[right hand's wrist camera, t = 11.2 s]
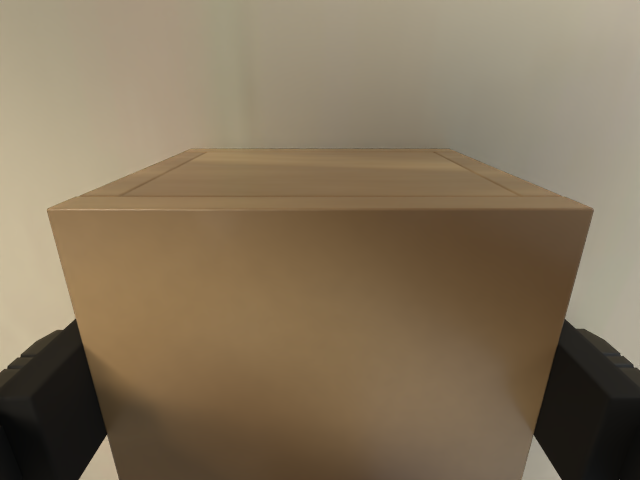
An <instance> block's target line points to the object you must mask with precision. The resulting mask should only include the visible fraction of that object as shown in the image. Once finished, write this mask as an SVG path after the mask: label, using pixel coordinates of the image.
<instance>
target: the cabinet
mask: <svg viewBox="0 0 640 480" xmlns="http://www.w3.org/2000/svg"><path fill="white" fill-rule="evenodd" d="M593 211H594V209H593V208H591V207H588V206H586V205H583V204H581V203H579V202H576V201H574V200H571V199H569V198H567V197H562V196H561V195H558V194H556V193H553V192H551V191H549V190H546V189H544V188H542V187H539V186H537V185H534V184H532V183H530V182H527V181H525V180H522V179H520V178H518V177H515V176H513V175H511V174H508V173H506V172H503V171H501V170H499V169H496V168H494V167H491V166H489V165H487V164H484V163H482V162H480V161H477V160H475V159H472V158H470V157H468V156H465V155H463V154H460V153H458V152H456V151H453V150H451V149H189V150H187V151H185V152H183V153H180V154H178V155H176V156H173V157H171V158H168V159H166V160H164V161H161V162H159V163H156V164H154V165H152V166H149V167H147V168H145V169H142V170H140V171H137V172H135V173H133V174H130V175H128V176H126V177H123V178H121V179H118V180H116V181H114V182H111V183H109V184H107V185H104V186H102V187H99V188H97V189H95V190H92V191H90V192H88V193H85V194H83V195H81V196H79V197H74V198H72V199H69V200H67V201H64V202H62V203H60V204H57V205H55V206H52V207H50V208H48V209H47V213H48V216H49V220H50V224H51V228H52V231H53V235H54V239H55V242H56V246H57V250H58V254H59V257H60V261H61V265H62V268H63V272H64V276H65V280H66V283H67V287H68V291H69V295H70V298H71V302H72V306H73V309H74V313H75V317H76V321H77V324H78V328H79V332H80V335H81V339H82V343H83V347H84V350H85V354H86V358H87V362H88V365H89V369H90V373H91V376H92V380H93V384H94V388H95V391H96V395H97V399H98V402H99V406H100V410H101V414H102V417H103V421H104V425H105V429H106V432H107V436H108V440H109V443H110V447H111V451H112V455H113V458H114V462H115V466H116V470H117V473H118V477H119V480H521V479H522V475H523V472H524V468H525V464H526V460H527V457H528V453H529V449H530V446H531V442H532V438H533V434H534V431H535V427H536V423H537V420H538V416H539V412H540V408H541V405H542V401H543V397H544V394H545V390H546V386H547V382H548V379H549V375H550V371H551V368H552V364H553V360H554V356H555V353H556V349H557V345H558V342H559V338H560V334H561V330H562V327H563V323H564V319H565V316H566V312H567V308H568V304H569V301H570V297H571V293H572V289H573V286H574V282H575V278H576V275H577V271H578V267H579V263H580V260H581V256H582V252H583V249H584V245H585V241H586V237H587V234H588V230H589V226H590V223H591V219H592V215H593Z"/></svg>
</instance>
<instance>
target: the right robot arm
mask: <svg viewBox="0 0 640 480" xmlns="http://www.w3.org/2000/svg"><path fill="white" fill-rule="evenodd" d="M106 435H107V432H106V429H105V425H104V421H103V417H102V414H101V410H100V406H99V402H98V399H97V395H96V391H95V388H94V384H93V380H92V376H91V373H90V369H89V365H88V362H87V358H86V354H85V350H84V347H83V343H82V339H81V335H80V332H79V328H78V324H77V321H76V319H75V320H74V321H73V322H72V323H71V324H69V325H68V326H67V327H66V328H65V329H64V330H56V331H54V332H52V333H51V334H49V335H47V336H45V337H43V338H42V339H40V340H38V341H36V342H35V343H34V344H33V345H32V346H30V347H29V348H28V349H27V350H26V351H25V352H23V353H22V354H21V357H20V358H17V359H15V360H14V361H13V362H12V363H11V364H10V365H8V368H7V369H4V370H3V371H2V372H0V480H79V478H80V477H81V475H82V473H83V472H84V470H85V469H86V467H87V465H88V464H89V462H90V461H91V459H92V457H93V456H94V454H95V453H96V451H97V450H98V448H99V446H100V445H101V443H102V442H103V440H104V438H105V437H106ZM533 435H534V436H535V438H536V439H537V441H538V442H539V444H540V446H541V447H542V449H543V450H544V452H545V454H546V455H547V457H548V458H549V460H550V462H551V463H552V465H553V466H554V468H555V470H556V471H557V473H558V474H559V476H560V478H561V479H562V480H619V479H620V480H640V370H639V369H638V368H634V367H633V364H632V363H631V362H629V361H628V360H627V359H626V358H625V357H624V356H620V353H619V352H618V351H617V350H616V349H614V348H613V347H612V346H611V345H610V344H609V343H607V342H606V341H605V340H603V339H602V338H600V337H598V336H596V335H594V334H593V333H591V332H589V331H587V330H585V329H575V328H574V327H573V326H572V325H571V324H570V323H569V322H568V321H567V320H566V319H564V323H563V327H562V330H561V334H560V338H559V342H558V345H557V349H556V353H555V356H554V360H553V364H552V368H551V371H550V375H549V379H548V382H547V386H546V390H545V394H544V397H543V401H542V405H541V408H540V412H539V416H538V420H537V423H536V427H535V431H534V434H533Z"/></svg>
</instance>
